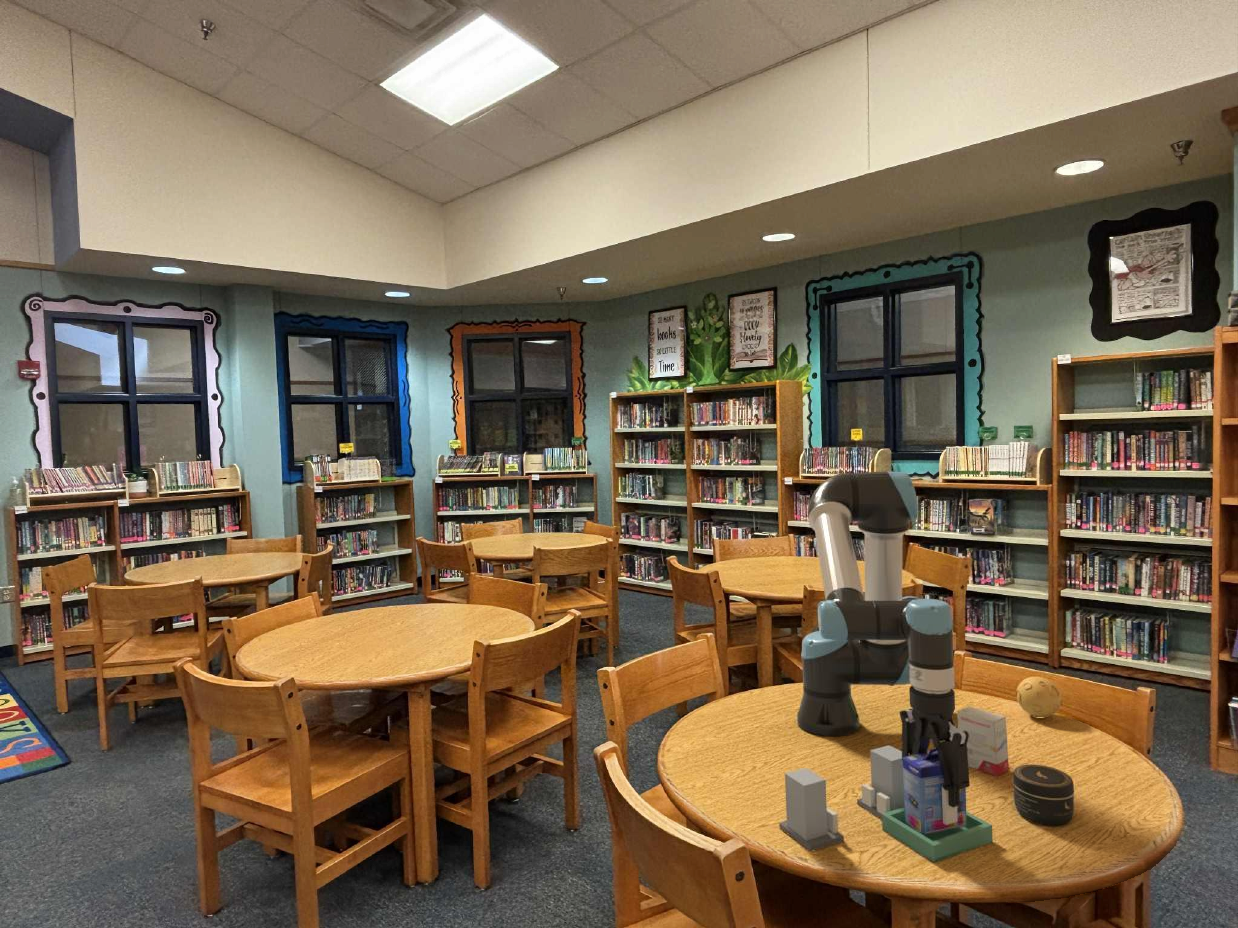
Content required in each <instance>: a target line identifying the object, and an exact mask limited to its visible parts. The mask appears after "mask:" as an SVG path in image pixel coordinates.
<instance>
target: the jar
mask: <svg viewBox="0 0 1238 928" xmlns="http://www.w3.org/2000/svg"><path fill="white" fill-rule="evenodd" d="M1012 778H1013V779H1012V786H1013V802H1014V806H1015V809H1016V810H1017V812H1018V814H1019V815H1020V816H1021V817H1022V818H1024V819H1025V820H1027V821H1028V822H1032V823H1034V824H1036V825H1040V826H1044V827H1046V826H1047V827H1057V828H1058V827H1063V826H1066V825H1068V824H1069V823H1070V822H1071V821H1072V820H1073V818H1074V813H1075V800H1074V799H1075V798H1074V797H1075V796H1074V795H1075V787H1074V780H1073V778H1072V777H1071V776H1070V775H1069V774H1068V773H1066V772H1064V771H1063V770H1060V769H1057V768H1055V767H1052V766H1049V765H1048V766H1047V765H1044V764H1043V765H1041V764H1023V765H1019V766H1016V767H1015V768H1014V770H1013V772H1012Z"/></svg>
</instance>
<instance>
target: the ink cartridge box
mask: <svg viewBox="0 0 1238 928" xmlns="http://www.w3.org/2000/svg"><path fill="white" fill-rule="evenodd" d="M909 755H910V754H909ZM902 759H903V781H904V808H905V822H907V823H908V824H909V825H910V826H912V827H913V828H914V829H915V830H916V831H918V832H919V833H920V834H922V835H926V834H930V833H935V832H940V831H945V830H950V829H954V828H959V827H964V826H966V825H967V818H966V811H967V792H966V791H967V787H966V788H963V789H960V790H959V795H960V797H959V798H960V804H959V806H957V818H958V821H957V822H954V823H951V824H948V825H946V824H944V823H943V809H942V787H943V786H945V781H944V777H943V773H942V769H941V765H940V761H939V756H938V752H937V749H936V748H935V747H934V748H931V749H928V751H927V753H924V754H920V753H919V754H915V755H910V756H906V757H903V758H902Z"/></svg>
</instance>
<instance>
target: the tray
mask: <svg viewBox="0 0 1238 928" xmlns="http://www.w3.org/2000/svg"><path fill="white" fill-rule="evenodd" d="M966 818H967V825H966V826H964V827H959V828H954V829H950V830H945V831H940V832H935V833H930V834H926V835H922V834H920V833H919V832H918V831H916V830H915V829H914V828H913V827H912V826H910V825H909V824H908V823H907V822H905V808H904V807H903V808H899V809H896V810H893V811H890V812H887V813H884V814H882V819H881V823H882V824H881V826H882V827H881V829H882V831H883V832H885V833H886V834H888V835H889V836H891V837H893V838H894V839H895V840H897V841H899V842H900V843H902V844H904V845H905V846H907V847H908V848H910V849H911V850H912V851H914V852H916V853H917V854H919V855H920V856H923V857H924V858H925V859H927V860H929V861H930V862H931V863H933V864H936V863H938V862H940V861H944V860H947V859H949V858H951V857H956V856H957V855H960V854H961V855H962V854H964V853H966V852H969V851H971V850H974V849H977V848H980V847H982V846H986V845H988V844H990V843H993V840H994V839H993V837H994V836H993V824H991V823H989V822H987V821H985V820H983V819H981V818H980V817H978V816H976V815H974V814H973V813H970V812H968V811H967V810H966Z"/></svg>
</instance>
